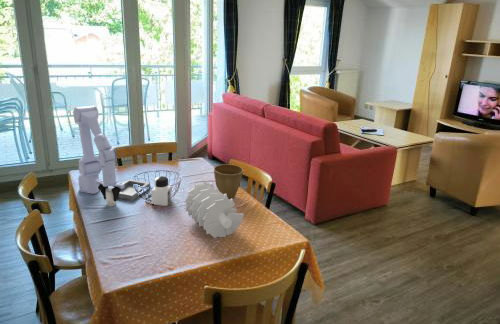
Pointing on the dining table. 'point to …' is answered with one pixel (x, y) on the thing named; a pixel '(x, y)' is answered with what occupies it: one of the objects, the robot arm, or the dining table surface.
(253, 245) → the dining table surface
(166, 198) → the container
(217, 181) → the plant pot
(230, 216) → the spiral staircase
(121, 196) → the tray
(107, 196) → the shaker
